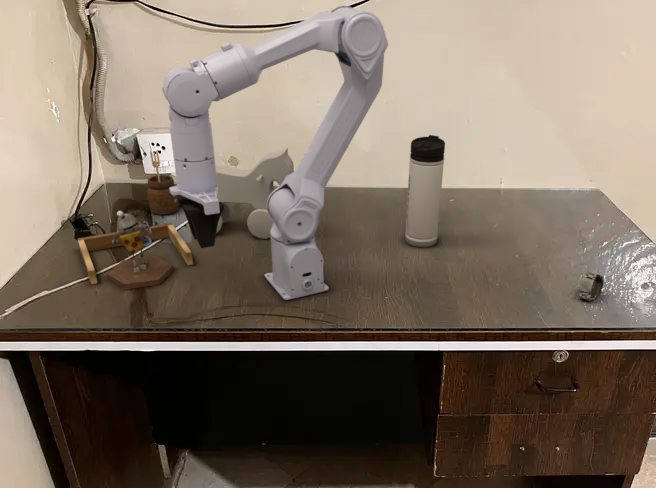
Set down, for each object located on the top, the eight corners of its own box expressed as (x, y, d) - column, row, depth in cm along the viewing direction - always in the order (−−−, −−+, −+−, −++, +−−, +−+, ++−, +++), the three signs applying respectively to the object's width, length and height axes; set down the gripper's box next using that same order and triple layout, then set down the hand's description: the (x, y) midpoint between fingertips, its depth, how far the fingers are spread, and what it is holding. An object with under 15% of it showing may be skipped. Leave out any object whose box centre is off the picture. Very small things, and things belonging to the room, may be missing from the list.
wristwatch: (595, 306, 104) (605, 279, 104) (587, 296, 100) (598, 268, 100) (577, 302, 106) (588, 275, 106) (569, 291, 102) (580, 264, 102)
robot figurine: (173, 258, 112) (164, 195, 106) (178, 282, 105) (168, 215, 99) (107, 267, 109) (94, 202, 103) (107, 291, 101) (93, 223, 95)
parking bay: (193, 264, 110) (191, 251, 109) (91, 284, 103) (88, 271, 102) (173, 234, 121) (171, 222, 120) (79, 250, 114) (77, 238, 113)
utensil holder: (153, 217, 129) (144, 160, 123) (147, 207, 133) (138, 152, 127) (182, 213, 131) (174, 157, 125) (175, 203, 136) (168, 149, 130)
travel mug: (441, 237, 123) (450, 137, 113) (430, 250, 118) (439, 146, 108) (412, 231, 126) (418, 132, 116) (400, 243, 120) (405, 141, 110)
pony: (301, 224, 128) (299, 143, 119) (291, 245, 119) (288, 158, 110) (206, 218, 129) (197, 137, 121) (189, 238, 120) (178, 152, 112)
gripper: (154, 146, 94) (166, 229, 100) (178, 174, 83) (190, 265, 89) (201, 141, 97) (209, 222, 103) (230, 167, 86) (238, 256, 92)
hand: (204, 242), depth 97 cm, fingers open, 3 cm apart
